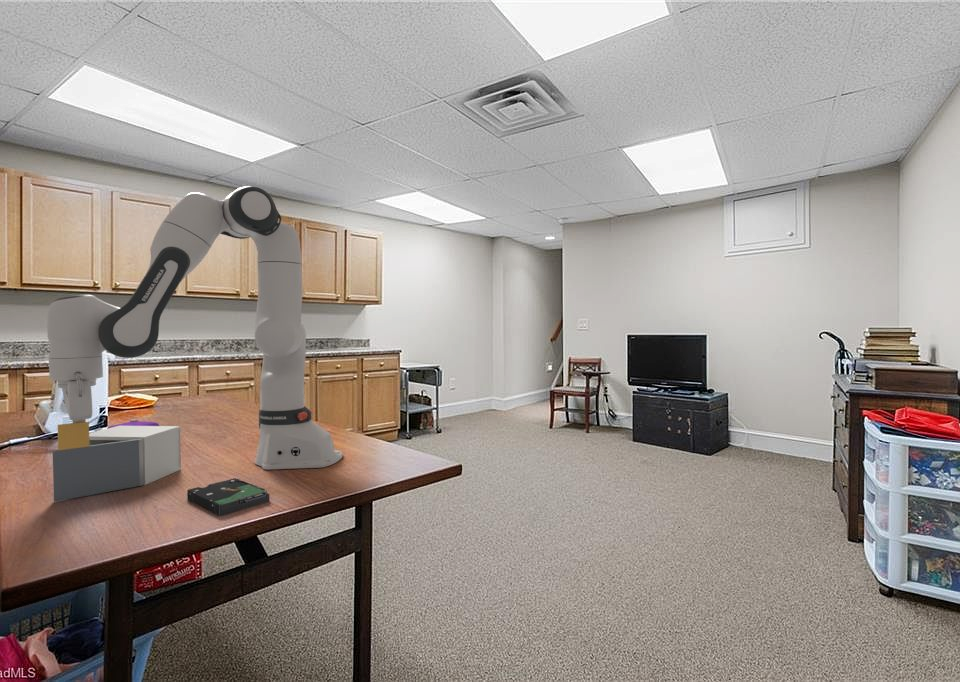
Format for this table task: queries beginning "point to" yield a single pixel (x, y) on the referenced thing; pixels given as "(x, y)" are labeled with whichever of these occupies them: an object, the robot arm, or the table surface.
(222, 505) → the disk drive
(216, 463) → the table surface
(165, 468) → the box
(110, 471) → the side door
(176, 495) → the table surface
